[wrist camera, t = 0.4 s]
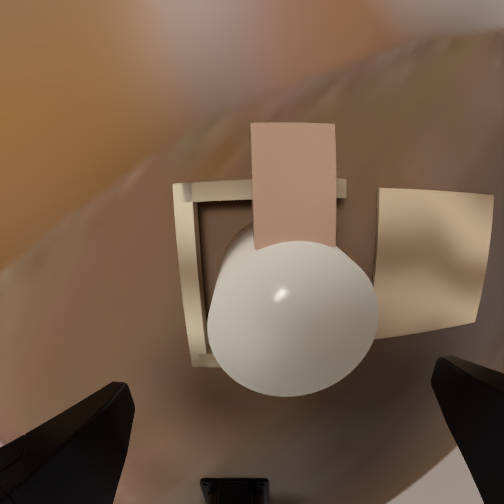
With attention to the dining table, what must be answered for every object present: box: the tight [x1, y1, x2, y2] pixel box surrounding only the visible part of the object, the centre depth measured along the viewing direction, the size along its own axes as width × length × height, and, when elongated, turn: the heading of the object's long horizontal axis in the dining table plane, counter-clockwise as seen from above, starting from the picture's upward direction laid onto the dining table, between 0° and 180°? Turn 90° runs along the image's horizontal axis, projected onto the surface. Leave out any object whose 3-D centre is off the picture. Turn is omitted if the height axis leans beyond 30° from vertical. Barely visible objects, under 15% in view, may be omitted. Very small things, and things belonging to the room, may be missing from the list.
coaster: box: [372, 188, 494, 339], centre depth 18 cm, size 10×10×1 cm
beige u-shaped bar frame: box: [173, 178, 346, 367], centre depth 18 cm, size 11×9×2 cm
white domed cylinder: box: [207, 123, 379, 397], centre depth 14 cm, size 11×7×7 cm, turn 2°
